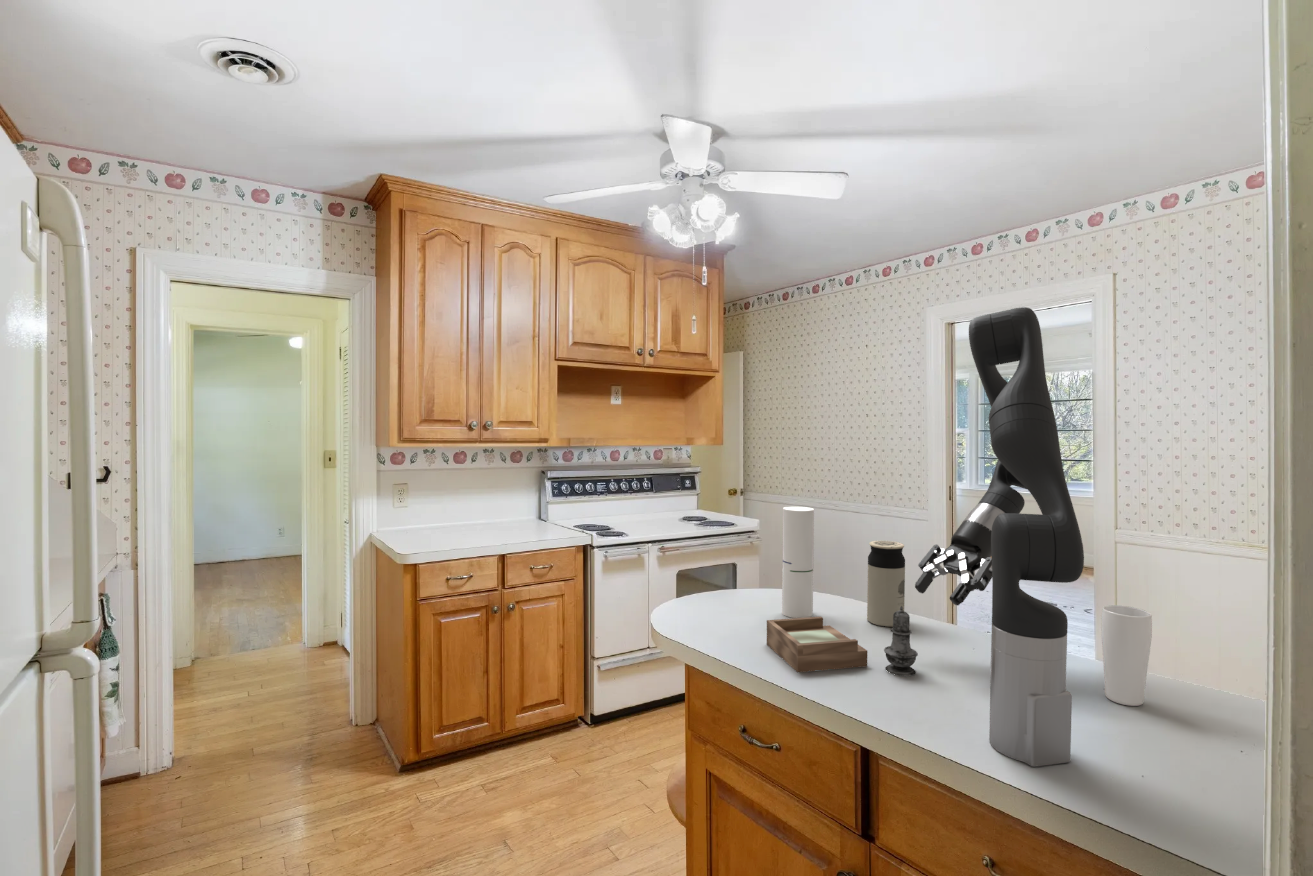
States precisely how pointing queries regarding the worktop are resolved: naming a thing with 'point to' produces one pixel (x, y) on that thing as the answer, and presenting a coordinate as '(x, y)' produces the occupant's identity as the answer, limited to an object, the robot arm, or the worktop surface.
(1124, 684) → the drinking glass
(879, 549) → the travel mug
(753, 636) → the worktop surface
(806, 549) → the cylindrical container
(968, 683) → the worktop surface
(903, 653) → the salt shaker
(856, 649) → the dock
